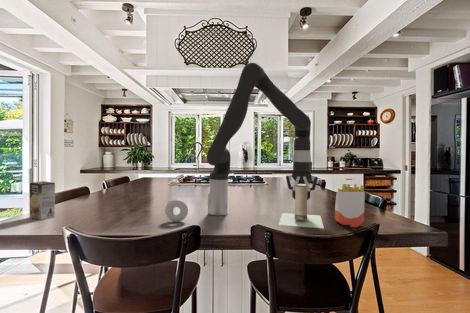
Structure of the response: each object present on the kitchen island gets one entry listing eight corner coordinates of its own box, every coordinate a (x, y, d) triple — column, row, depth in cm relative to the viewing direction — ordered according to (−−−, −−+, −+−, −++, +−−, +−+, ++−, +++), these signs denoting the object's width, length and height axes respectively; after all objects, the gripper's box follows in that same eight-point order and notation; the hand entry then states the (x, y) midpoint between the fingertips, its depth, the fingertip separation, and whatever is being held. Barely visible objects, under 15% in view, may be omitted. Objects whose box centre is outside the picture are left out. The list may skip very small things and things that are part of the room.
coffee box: (28, 217, 124) (28, 182, 124) (43, 214, 130) (43, 181, 130) (41, 220, 121) (40, 183, 120) (55, 217, 126) (55, 182, 126)
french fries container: (334, 224, 120) (335, 182, 119) (358, 224, 120) (359, 183, 119) (338, 226, 115) (339, 184, 115) (364, 227, 115) (364, 184, 115)
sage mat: (278, 227, 114) (278, 224, 114) (282, 215, 135) (282, 213, 135) (323, 230, 109) (323, 228, 109) (320, 217, 131) (320, 215, 131)
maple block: (295, 214, 128) (294, 219, 118) (295, 183, 127) (295, 186, 118) (306, 214, 126) (307, 220, 117) (307, 184, 126) (307, 187, 116)
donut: (164, 222, 119) (164, 199, 118) (166, 220, 122) (166, 198, 122) (187, 223, 118) (187, 200, 118) (188, 221, 122) (188, 198, 122)
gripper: (284, 160, 119) (284, 199, 119) (319, 161, 115) (318, 201, 115) (285, 160, 126) (285, 197, 126) (318, 160, 122) (317, 198, 123)
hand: (301, 199), depth 121 cm, fingers closed on maple block, 5 cm apart
